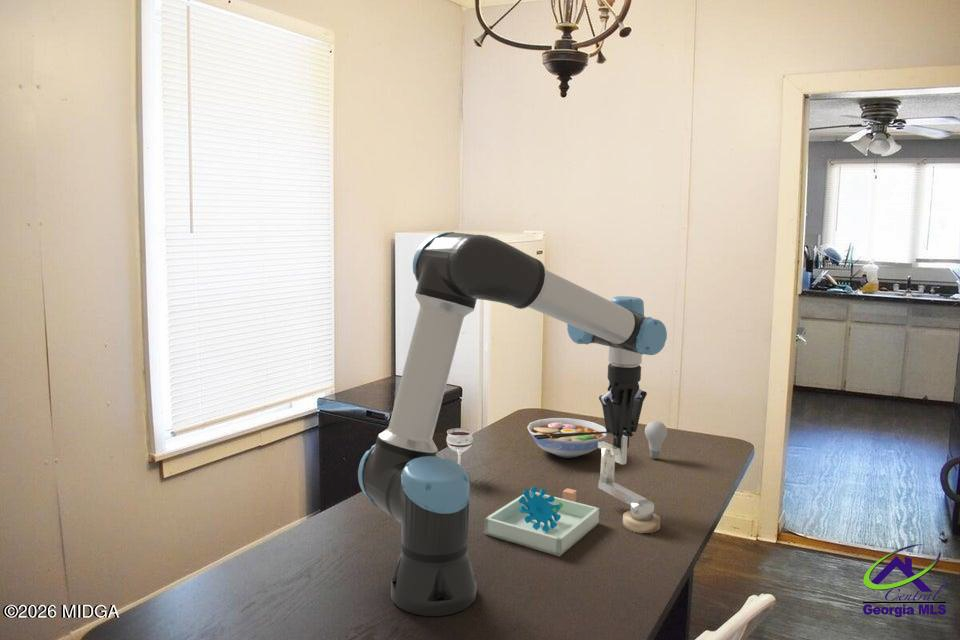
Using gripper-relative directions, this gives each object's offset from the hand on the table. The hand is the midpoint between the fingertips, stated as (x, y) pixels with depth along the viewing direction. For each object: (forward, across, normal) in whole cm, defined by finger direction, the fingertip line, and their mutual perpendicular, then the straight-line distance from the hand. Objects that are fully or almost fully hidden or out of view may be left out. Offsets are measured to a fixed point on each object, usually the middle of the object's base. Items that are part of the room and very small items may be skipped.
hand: (620, 462), depth 173 cm
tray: (+10, +24, +3) cm, 26 cm away
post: (+10, +12, -4) cm, 16 cm away
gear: (+9, +24, +2) cm, 26 cm away
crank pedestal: (+10, +4, +12) cm, 16 cm away
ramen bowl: (+10, -12, -35) cm, 38 cm away
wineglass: (+10, +25, -32) cm, 42 cm away
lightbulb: (+11, -31, -20) cm, 39 cm away
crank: (+8, +4, +6) cm, 10 cm away
